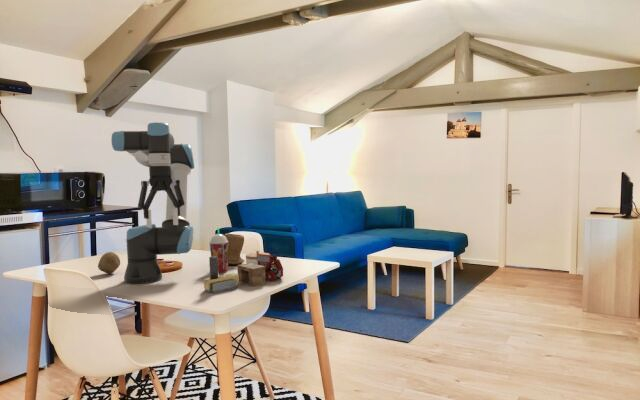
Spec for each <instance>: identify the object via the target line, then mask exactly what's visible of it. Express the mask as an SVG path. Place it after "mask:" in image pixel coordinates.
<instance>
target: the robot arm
mask: <svg viewBox="0 0 640 400" xmlns="http://www.w3.org/2000/svg"><path fill="white" fill-rule="evenodd" d="M110 139H111V147H112V149H113V150H114V151H115V152H127V153H128V154H129V155H131V156H132V157H134V159H135V160H136V161H137V163H139V164H140V165H142V166H144V167H147V168H149V169H148V171H149V172H148V173H149V180H141V182H140V186H141V188H140V189H141V190H140V194H139V198H138V204H137V208H139V209H140V210H141V209H142V210H143V219H144V220H145V219H146V220H145V221H146V224H144V225H139V226H138V225H137V226H134V227H129V228H128V229H127V230H126V239H125V240H126V253H127V254H126V255H127V266H126V269H125V272H124V277H123V281H124V283H125V282H126V283H125V284H128V283H130V284H131V285H140V284H142V285H143V284H149V283H155V282H159V281H160V280H162V279H163V273H162V269H161V267H160V265H159V263H158V256H159V255H181V254H188V253H189V252H190V251H191V249H192V247H193V241H194V227H193V226H192V225H191V224H190V222H189V221H188V220H187V207H188V206H187V203H188V198H187V197H188V175H190V174H191V171H192V170H193V169H195V160H194V155H193V150H192V149H193V148H192V146H191V145H190V144H189V143H188V144H185V143H180V144H179V143H177V144H175V138H174V136H173V134H172V133H171V132H170V126H169V124H168V123H167V122H150V123H148V124H147V130H139V131H138V130H133V131H132V130H130V131H129V130H128V131H127V130H121V131H114V132H113V133H112V134H111V138H110ZM149 185H150V186H151V188H150V190H149V193H148V195H147V192H148V187H149ZM160 191H163V192H166V209H165V220H163V221H161V227H158V226H157V225H156V224H155V223H152V210H151V209H149V208H150V207H151V204H152V203H153V200H154V198H155V195H156V194H157V192H160Z"/></svg>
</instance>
